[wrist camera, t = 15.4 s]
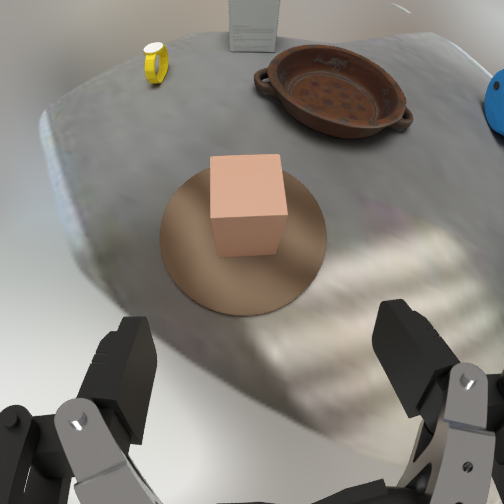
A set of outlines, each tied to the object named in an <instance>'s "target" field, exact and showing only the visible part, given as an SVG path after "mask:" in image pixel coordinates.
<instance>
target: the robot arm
mask: <svg viewBox="0 0 504 504" xmlns="http://www.w3.org/2000/svg"><path fill="white" fill-rule="evenodd" d="M372 345H373V349H374V352H375V354H376V356H377V358H378V359H379V361H380V363H381V365H382V367H383V369H384V371H385V373H386V375H387V376H388V378H389V380H390V382H391V384H392V386H393V388H394V390H395V392H396V394H397V396H398V398H399V400H400V402H401V404H402V406H403V408H404V410H405V412H406V414H407V416H408V418H412V417H415V416H418V415H421V416H422V418H423V420H422V422H421V423H420V426H419V430H418V433H417V437H416V440H415V444H414V447H413V450H412V453H411V457H410V460H409V463H408V466H407V468H406V470H405V472H404V474H403V475H402V477H401V479H400V480H399V482H398V484H397V486H396V487H391V486H390V487H389V486H387V487H386V486H385V483H384V480H383V479H380V480H376V481H373V482H369V483H366V484H362V485H358V486H354V487H350V488H346V489H344V490H342V491H340V492H338V493H335V494H333V495H331V496H329V497H326V498H324V499H322V500H319V501H317V502H315V503H312V504H486V502H487V497H488V492H489V487H490V481H491V476H492V478H493V480H494V483H495V485H496V488H497V490H498V493H499V495H500V498H501V500H502V503H503V504H504V370H503V372H502V373H501V374H487V375H485V373H484V372H483V370H482V369H480V368H479V367H478V366H476V365H474V364H471V363H461V362H460V361H459V360H458V358H457V357H456V356H455V354H454V353H453V352H452V350H451V349H450V348H449V346H448V345H447V344H446V343H445V341H444V340H443V339H442V337H439V334H438V332H437V331H436V330H435V329H433V326H432V325H431V323H430V322H429V321H428V320H427V319H426V318H425V317H424V316H422V315H421V314H419V313H418V312H416V311H412V310H411V308H410V307H409V306H408V305H407V303H406V302H405V301H404V300H403V299H396V300H388V301H383V302H381V304H380V306H379V310H378V315H377V319H376V323H375V327H374V331H373V335H372ZM156 368H157V354H156V349H155V345H154V342H153V338H152V335H151V331H150V327H149V323H148V320H147V318H146V317H123V319H122V321H121V323H120V325H119V328H118V330H117V331H110V332H109V333H108V334H107V335H106V336H105V337H104V338H103V339H102V340H101V341H100V343H99V346H98V348H97V350H96V354H95V355H94V357H93V359H92V364H90V366H89V368H88V371H87V373H86V376H85V378H84V380H83V383H82V385H81V388H80V390H79V393H78V395H77V397H76V398H75V399H71V400H68V401H66V402H65V403H63V404H62V405H61V406H60V407H59V408H58V410H57V412H56V414H51V415H42V416H32V415H31V414H30V413H29V411H28V410H27V409H26V408H25V407H23V406H20V405H12V406H9V407H7V408H5V409H4V410H3V411H2V412H1V413H0V504H67V501H68V495H69V489H70V483H71V478H72V477H76V480H77V483H76V484H74V489H75V493H76V495H77V497H78V499H79V501H80V503H81V504H163V503H162V502H161V501H160V500H159V498H158V497H157V496H156V494H155V493H154V492H153V490H152V489H151V487H150V486H149V484H148V483H147V482H146V480H145V479H144V477H143V476H142V475H141V473H140V471H139V470H138V469H137V467H136V465H135V464H134V462H133V461H132V459H131V458H130V456H129V455H128V452H129V447H130V444H136V445H142V439H143V434H144V428H145V423H146V417H147V411H148V406H149V401H150V397H151V392H152V387H153V382H154V378H155V373H156ZM30 467H31V468H30ZM29 468H30V472H29ZM28 472H29V476H28ZM27 476H28V479H27ZM26 480H27V483H26ZM25 484H26V487H25ZM24 488H25V492H24ZM223 504H273V503H264V502H250V503H223Z"/></svg>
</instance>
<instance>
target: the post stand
mask: <svg viewBox="0 0 504 504" xmlns="http://www.w3.org/2000/svg"><path fill="white" fill-rule="evenodd" d="M282 175H283V182H284V189H285V196H286V204H287V212H288V216H287V219H286V223H285V226H284V229H283V232H282V236H281V239H280V242H279V245H278V248H277V252H276V255H259V256H239V257H219V258H218V253H217V248H216V243H215V239H214V234H213V229H212V224H211V218H210V168H207V169H205V170H203V171H201V172H199V173H198V174H196V175H194V176H193V177H192V178H190V179H189V180H187V181H186V182H185V183H184V184H183V185H182V186H181V187H180V188H179V189H178V191H177V192H176V193H175V194H174V195H173V197H172V199H171V200H170V202H169V203H168V206H167V208H166V210H165V212H164V215H163V218H162V222H161V228H160V248H161V254H162V257H163V261H164V263H165V266H166V268H167V270H168V272H169V274H170V275H171V277H172V279H173V280H174V282H175V283H176V284H177V285H178V286H179V288H180V289H181V290H182V291H183V292H184V293H185V294H186V295H187V296H188V297H189V298H191V299H192V300H193V301H195V302H196V303H198V304H199V305H201V306H203V307H205V308H207V309H209V310H211V311H214V312H218V313H221V314H225V315H231V316H244V317H245V316H257V315H261V314H266V313H269V312H272V311H275V310H277V309H280V308H282V307H283V306H285V305H287V304H289V303H290V302H292V301H293V300H294V299H296V298H297V297H298V296H299V295H300V294H301V293H302V292H304V291H305V290H306V288H307V287H308V286H309V285H310V283H311V282H312V281H313V280H314V278H315V276H316V275H317V273H318V271H319V269H320V267H321V265H322V262H323V259H324V255H325V251H326V242H327V235H326V226H325V221H324V217H323V215H322V212H321V209H320V207H319V205H318V203H317V201H316V200H315V198H314V197H313V195H312V194H311V193H310V192H309V190H308V189H307V188H306V187H305V186H304V185H303V184H302V183H301V182H300V181H298V180H297V179H296V178H294V177H293V176H291V175H290V174H288V173H287V172H285V171H283V170H282Z"/></svg>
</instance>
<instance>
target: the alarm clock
mask: <svg viewBox="0 0 504 504" xmlns="http://www.w3.org/2000/svg"><path fill="white" fill-rule="evenodd" d="M485 115H486V118H487V121H488V123H489V125H490V126H491V128H492V129H493V130H494V131H496V132H497V133H499V134H501V135H503V136H504V69H503V70H500V71H499V72H497V73H496V74H495V75H494V77H493V78H492V79H491V81H490V83H489V85H488V88H487V91H486V95H485Z"/></svg>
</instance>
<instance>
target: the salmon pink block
mask: <svg viewBox="0 0 504 504" xmlns="http://www.w3.org/2000/svg"><path fill="white" fill-rule="evenodd" d="M287 216H288V212H287V204H286V196H285V189H284V182H283V175H282V168H281V161H280V154H264V155H233V156H213V157H210V218H211V224H212V229H213V234H214V239H215V243H216V248H217V253H218V258H219V257H239V256H259V255H276V252H277V248H278V245H279V242H280V239H281V236H282V232H283V229H284V226H285V223H286V219H287Z"/></svg>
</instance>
